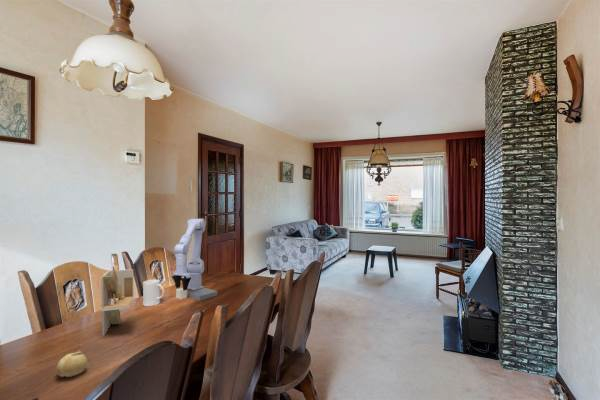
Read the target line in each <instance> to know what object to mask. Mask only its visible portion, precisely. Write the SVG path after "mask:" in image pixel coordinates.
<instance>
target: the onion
mask: <svg viewBox="0 0 600 400" xmlns="http://www.w3.org/2000/svg"><path fill="white" fill-rule="evenodd" d="M80 350H81V349H79V350H77V351H76V352H71V353H67V354H66V355H64V356H63V357H62V358H61V359H60V360H59V361H58V362H57V365H56V368H55V370H56V373H57V375H58V376H59V377H62V378H63V377H64V376H65V377H66V378H72V376H73V377H76V376H78V375H80V374H82V373H83V372H84V371H85V369H86V368H87V366H88V357H86V355H85V354H84V353H83V352H82V351H80ZM79 373H80V374H79ZM75 375H76V376H75Z"/></svg>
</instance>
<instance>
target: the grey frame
mask: <svg viewBox="0 0 600 400" xmlns="http://www.w3.org/2000/svg"><path fill="white" fill-rule="evenodd" d="M100 278H101V279H100V281H101V285H100V287H101V290H100V291H101V311H102V313H101V314H102V315H101V316H102V319H101V320H102V324H101V325H102V327H101V328H102V330H101V331H102V335H101V336H102V337H105V335H106V333H107V332H108V330H109V329H110V327H111V326H112V325H121V311H120V310H126V309H129V308H130V306H131V304H132V302H133V300H134V269H133V268H132V269H117V270H116V268H115V266H114V265H112V270H107V271H106V272H105V273H104V274H103V275H102V276H101V277H100ZM112 299H113V304H112V302H111V301H112ZM111 324H112V325H111ZM108 328H109V329H108Z"/></svg>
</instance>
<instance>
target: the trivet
mask: <svg viewBox="0 0 600 400" xmlns="http://www.w3.org/2000/svg"><path fill="white" fill-rule="evenodd" d="M187 296H188V297H187V298H190V297H191V298H190V299H193V300H196V301H203V300H206V299H209V298H213V297H216V296H217V297H218V291H217V290H214V289H211V288H207V287H204V288H200V289H196V290H191V291H187Z"/></svg>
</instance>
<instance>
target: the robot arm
mask: <svg viewBox="0 0 600 400" xmlns="http://www.w3.org/2000/svg"><path fill="white" fill-rule="evenodd" d="M186 225H187V229H186V232H185V234H182V236H181V238H180V240H179V242H178V243H177V244H176V245H175V246H174V249H173V252H174V257H175V265H176V266H175V270H174V271H172V273H173V274H172V276H171V278H172V280H173V282H174V285H175V288H176V289H179V288H181V283H182V288H183V290H187V291H188V290H191V291H195V290H199V289H203V288H205V286H203V285H202V274H203V273H204V271H205V261H204V260H203V259H201V250H202V241H203V233H204V232H205V231H206V220H205V219H204V217H203V218H188V220H187V224H186ZM193 235H194V236H193ZM192 236H193V243H192V254H191V259H189V260H188V259H187V258H188V253H189V249H190V244H191V242H192Z"/></svg>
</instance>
